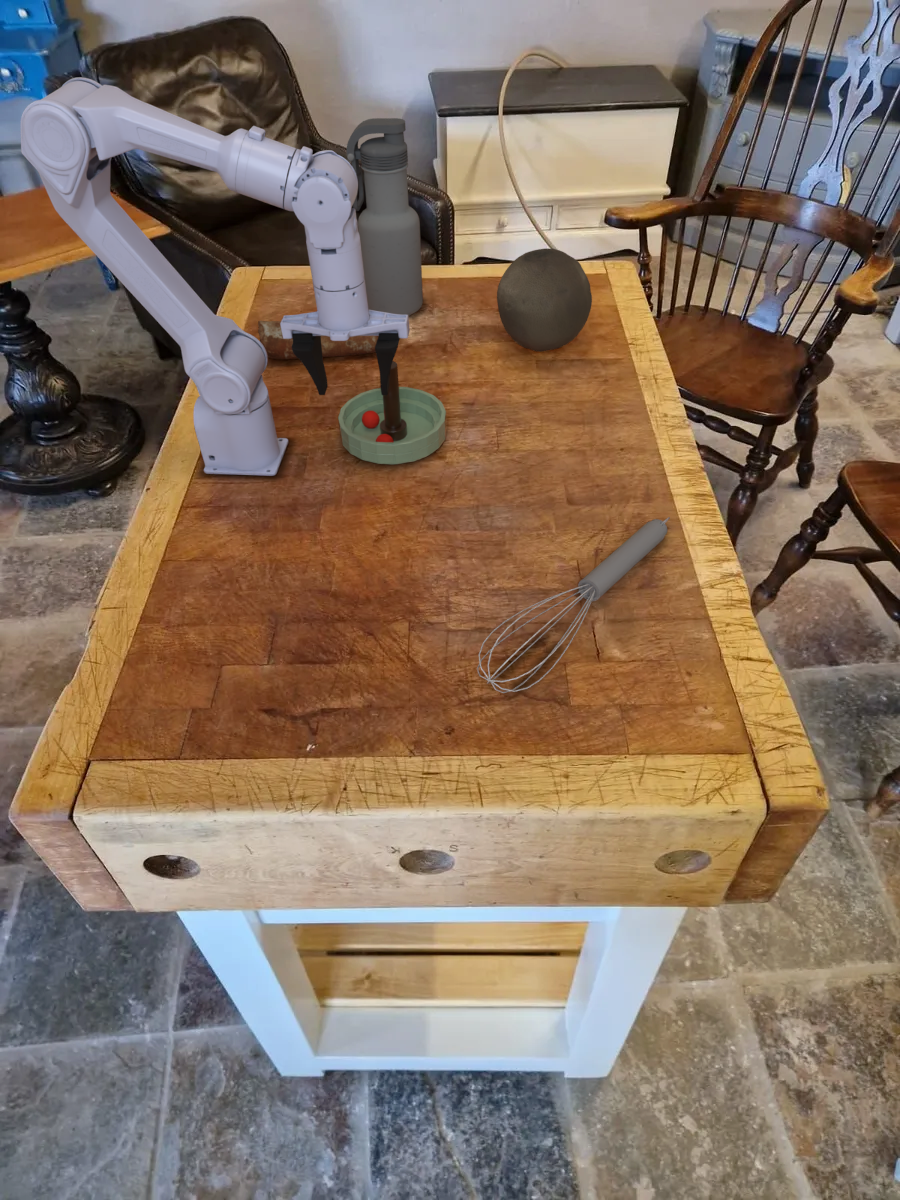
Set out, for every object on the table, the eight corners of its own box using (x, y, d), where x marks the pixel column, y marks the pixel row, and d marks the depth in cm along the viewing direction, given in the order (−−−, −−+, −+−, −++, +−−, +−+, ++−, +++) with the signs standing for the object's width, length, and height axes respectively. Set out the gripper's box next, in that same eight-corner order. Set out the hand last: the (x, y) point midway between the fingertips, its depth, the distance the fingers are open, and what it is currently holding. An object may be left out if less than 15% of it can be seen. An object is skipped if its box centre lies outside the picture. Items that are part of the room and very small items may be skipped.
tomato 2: (375, 430, 104) (389, 438, 103) (386, 431, 106) (399, 439, 105) (369, 446, 104) (382, 455, 103) (379, 447, 106) (393, 456, 106)
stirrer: (377, 439, 107) (371, 370, 100) (384, 425, 110) (378, 356, 102) (403, 442, 107) (399, 373, 99) (409, 427, 109) (405, 359, 102)
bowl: (333, 465, 104) (329, 443, 102) (350, 407, 114) (348, 385, 112) (441, 469, 103) (440, 446, 101) (449, 409, 113) (449, 387, 111)
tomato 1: (367, 434, 108) (355, 421, 108) (377, 429, 110) (365, 416, 110) (375, 423, 107) (363, 409, 107) (385, 417, 109) (373, 404, 109)
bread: (264, 348, 127) (258, 314, 123) (384, 344, 127) (382, 310, 123) (260, 368, 122) (253, 333, 118) (384, 363, 123) (381, 329, 119)
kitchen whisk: (688, 537, 93) (699, 494, 88) (513, 721, 75) (515, 678, 71) (642, 516, 96) (651, 473, 91) (463, 688, 78) (462, 645, 73)
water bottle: (358, 319, 133) (339, 131, 113) (368, 293, 140) (352, 111, 120) (419, 321, 132) (410, 131, 113) (426, 295, 139) (419, 112, 119)
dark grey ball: (497, 327, 130) (500, 233, 120) (584, 330, 129) (595, 234, 119) (493, 371, 120) (495, 272, 110) (587, 374, 119) (599, 275, 109)
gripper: (265, 297, 85) (288, 408, 95) (399, 296, 84) (409, 408, 94) (280, 269, 90) (301, 377, 100) (407, 268, 89) (416, 378, 99)
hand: (354, 390), depth 97 cm, fingers open, 7 cm apart
